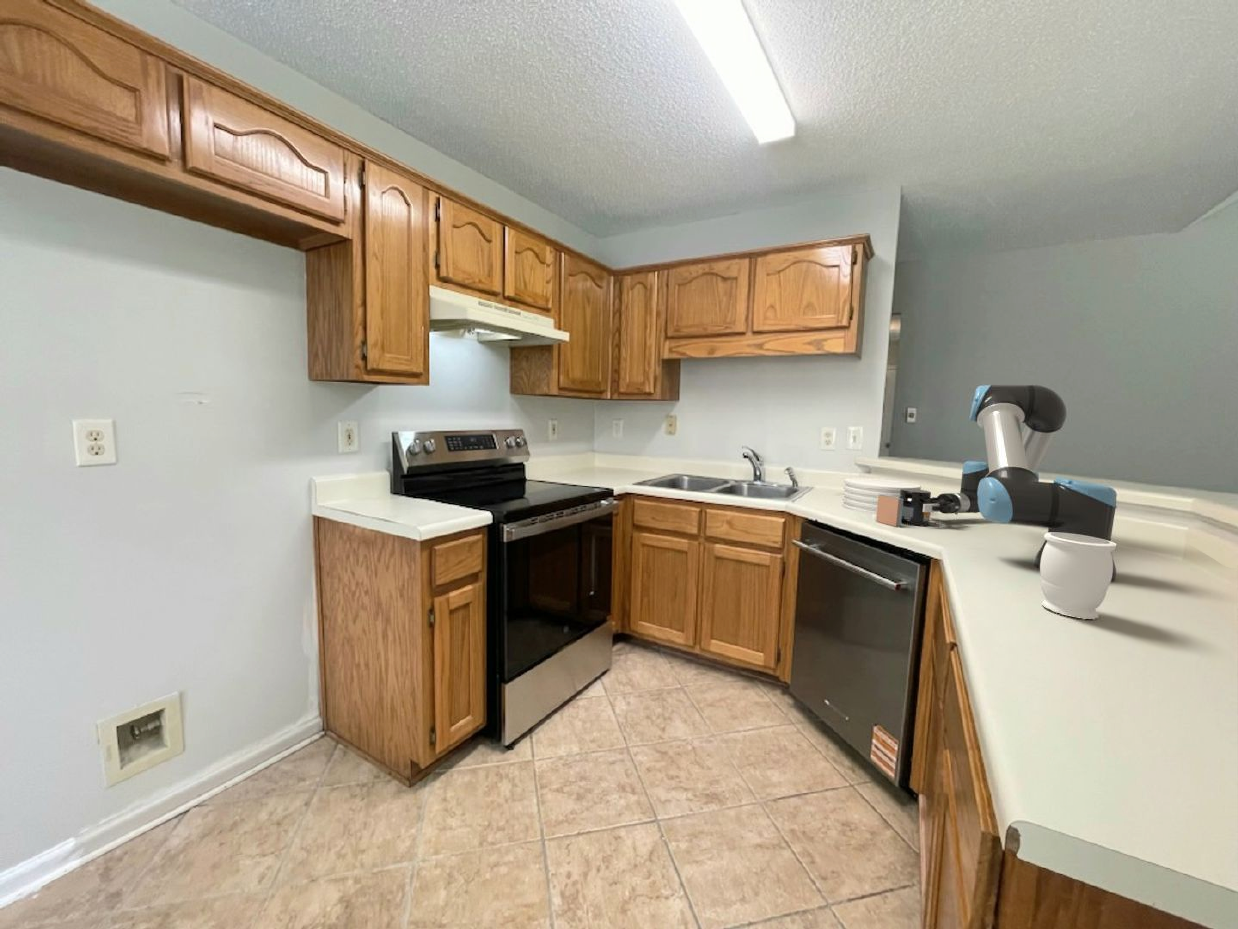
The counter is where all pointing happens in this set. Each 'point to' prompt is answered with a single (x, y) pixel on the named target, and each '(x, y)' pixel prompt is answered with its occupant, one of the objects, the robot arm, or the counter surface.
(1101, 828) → the counter surface
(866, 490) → the plate stack
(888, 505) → the tile
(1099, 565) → the jar
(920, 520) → the supplement container
